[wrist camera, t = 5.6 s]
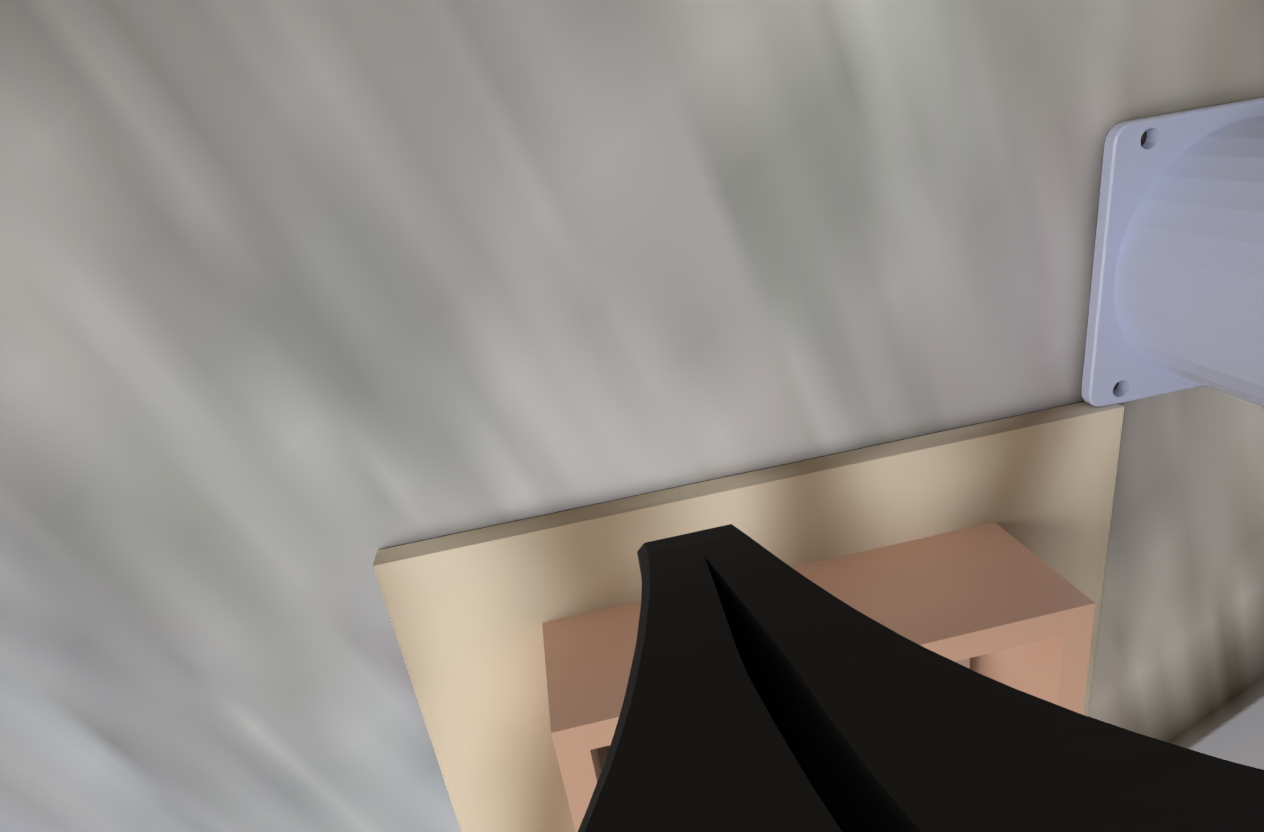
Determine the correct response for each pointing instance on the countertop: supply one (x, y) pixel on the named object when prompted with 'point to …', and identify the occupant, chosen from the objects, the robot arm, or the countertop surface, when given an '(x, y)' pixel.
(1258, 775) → the robot arm
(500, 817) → the serving board
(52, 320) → the countertop surface
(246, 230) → the countertop surface
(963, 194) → the countertop surface
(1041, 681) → the pink square tray
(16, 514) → the countertop surface
